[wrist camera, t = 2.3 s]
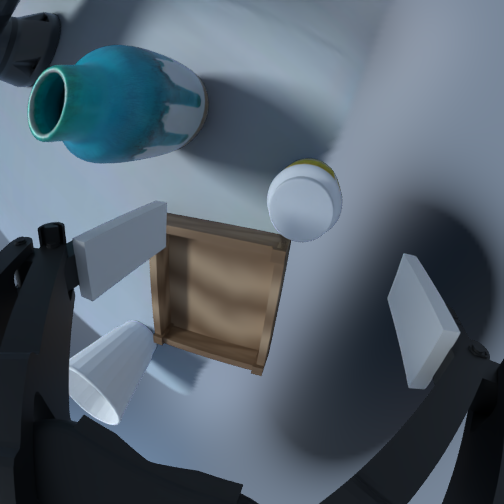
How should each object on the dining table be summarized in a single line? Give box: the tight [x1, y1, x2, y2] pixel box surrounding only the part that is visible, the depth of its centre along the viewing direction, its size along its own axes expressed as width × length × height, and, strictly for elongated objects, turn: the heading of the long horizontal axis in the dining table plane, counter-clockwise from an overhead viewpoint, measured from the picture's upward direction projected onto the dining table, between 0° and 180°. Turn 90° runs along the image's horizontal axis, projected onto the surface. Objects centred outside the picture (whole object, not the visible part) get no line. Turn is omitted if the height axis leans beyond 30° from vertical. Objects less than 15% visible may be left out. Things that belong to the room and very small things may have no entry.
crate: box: [150, 213, 291, 376], centre depth 35 cm, size 18×16×5 cm
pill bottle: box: [267, 158, 342, 242], centre depth 25 cm, size 6×6×11 cm
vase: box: [28, 45, 209, 163], centre depth 21 cm, size 11×11×19 cm
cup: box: [69, 320, 157, 425], centre depth 39 cm, size 12×12×16 cm
